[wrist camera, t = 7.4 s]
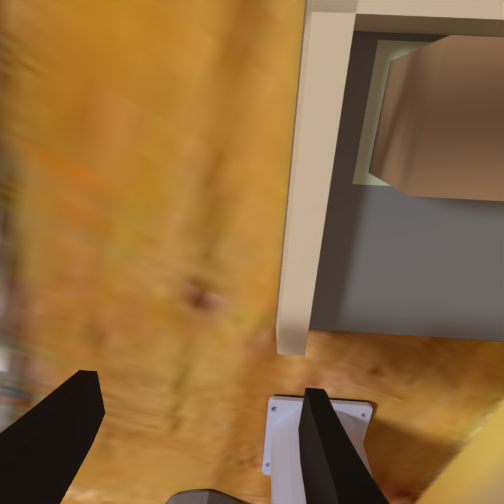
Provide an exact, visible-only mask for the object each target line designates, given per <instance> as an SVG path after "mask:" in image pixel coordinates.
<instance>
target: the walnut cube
mask: <svg viewBox="0 0 504 504" xmlns="http://www.w3.org/2000/svg"><path fill="white" fill-rule="evenodd" d="M368 173H370V174H371V175H373V176H375V177H377V178H378V179H380V180H382V181H384V182H385V183H387V184H389V185H390V186H392V187H394V188H396V189H397V190H399V191H401V192H403V193H404V194H406V195H408V196H417V197H436V198H454V199H472V200H490V201H504V37H485V36H463V35H450V36H447V37H445V38H443V39H440V40H438V41H436V42H433V43H431V44H429V45H426V46H424V47H422V48H419V49H417V50H415V51H412V52H410V53H408V54H405V55H403V56H401V57H398V58H396V59H394V60H391V61H390V66H389V71H388V76H387V81H386V86H385V91H384V96H383V101H382V106H381V111H380V116H379V121H378V126H377V131H376V136H375V141H374V146H373V151H372V156H371V161H370V166H369V171H368Z"/></svg>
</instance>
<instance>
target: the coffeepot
mask: <svg viewBox="0 0 504 504" xmlns="http://www.w3.org/2000/svg"><path fill="white" fill-rule="evenodd" d="M166 504H241V503H240V502H239V501H237V500H236V499H234V498H233V497H231V496H229V495H226V494H224V493H221V492H217V491H212V490H203V489H196V490H187V491H183V492H180V493H177V494H175V495H174V496H172V497H171V498H170V499H168V501H167V502H166Z"/></svg>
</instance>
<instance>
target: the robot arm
mask: <svg viewBox="0 0 504 504" xmlns="http://www.w3.org/2000/svg"><path fill="white" fill-rule="evenodd" d="M372 411H373V408H372V406H371V404H370V403H367V402H356V401H342V400H330V399H329V397H328V395H327V393H326V391H325V390H324V389H316V388H305V394H304V398H297V397H283V396H272V397H270V398H269V401H268V412H267V422H266V433H265V444H264V454H263V465H262V472H263V473H264V474H265V475H271V496H272V504H390V503H389V502H388V501H387V499H386V498H385V496H384V495H383V493H382V491H381V490H380V488H379V487H378V485H377V484H376V482H375V481H374V479H373V476H372V473H371V469H370V466H369V462H368V459H367V456H366V452H365V449H364V445H363V441H364V438H365V435H366V431H367V428H368V425H369V421H370V418H371V414H372ZM104 415H105V409H104V404H103V399H102V394H101V389H100V384H99V379H98V374H97V371H86V370H79V371H78V372H77V373H75V374H74V375H73V376H71V377H70V378H69V379H68V380H67V381H65V382H64V383H63V384H62V385H60V386H59V387H58V388H57V389H55V390H54V391H53V392H52V393H51V394H49V395H48V396H47V397H46V398H44V399H43V400H42V401H41V402H40V403H38V404H37V405H36V406H35V407H33V408H32V409H31V410H30V411H28V412H27V413H26V414H24V415H23V416H22V417H21V418H19V419H18V420H17V421H16V422H14V423H13V424H12V425H11V426H9V427H8V428H7V429H5V430H4V431H3V432H1V433H0V504H60V503H61V501H62V499H63V497H64V496H65V494H66V492H67V490H68V488H69V486H70V485H71V483H72V481H73V479H74V477H75V476H76V474H77V472H78V470H79V468H80V466H81V464H82V463H83V461H84V459H85V457H86V455H87V453H88V451H89V450H90V448H91V446H92V444H93V441H94V439H95V437H96V434H97V432H98V430H99V427H100V425H101V422H102V420H103V417H104Z"/></svg>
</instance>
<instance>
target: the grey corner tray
mask: <svg viewBox="0 0 504 504" xmlns="http://www.w3.org/2000/svg"><path fill="white" fill-rule="evenodd" d="M450 35H463V36H485V37H504V0H306V3H305V14H304V25H303V35H302V46H301V57H300V67H299V78H298V89H297V99H296V110H295V121H294V131H293V142H292V153H291V163H290V174H289V185H288V195H287V206H286V217H285V227H284V238H283V249H282V260H281V270H280V281H279V292H278V302H277V313H276V334H277V354H285V355H300V356H305V349H306V343H307V336H308V329H313V330H329V331H344V332H360V333H376V334H392V335H407V336H423V337H439V338H455V339H470V340H486V341H502V342H504V201H490V200H472V199H454V198H436V197H417V196H408V195H406V194H404V193H403V192H401V191H399V190H397V189H396V188H394V187H392V186H390V185H389V184H387V183H385V182H384V181H382V180H380V179H378V178H377V177H375V176H373V175H371V174H370V173H368V171H369V166H370V161H371V156H372V151H373V146H374V141H375V136H376V131H377V126H378V121H379V116H380V111H381V106H382V101H383V96H384V91H385V86H386V81H387V76H388V71H389V66H390V61H391V60H394V59H396V58H398V57H401V56H403V55H405V54H408V53H410V52H412V51H415V50H417V49H419V48H422V47H424V46H426V45H429V44H431V43H433V42H436V41H438V40H440V39H443V38H445V37H447V36H450Z"/></svg>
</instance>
